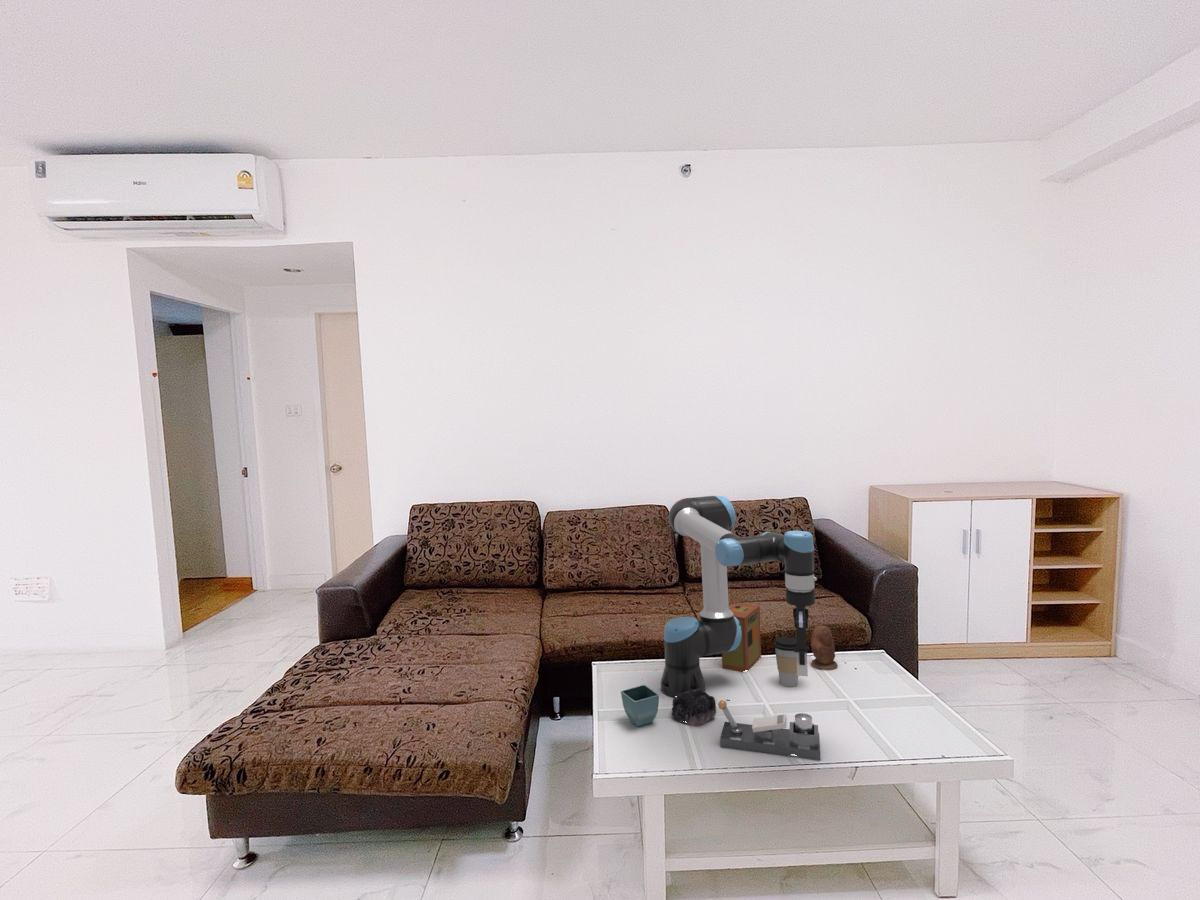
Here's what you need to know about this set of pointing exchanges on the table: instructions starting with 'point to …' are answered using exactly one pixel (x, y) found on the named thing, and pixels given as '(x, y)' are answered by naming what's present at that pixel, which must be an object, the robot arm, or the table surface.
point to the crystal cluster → (694, 707)
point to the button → (803, 723)
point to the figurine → (823, 648)
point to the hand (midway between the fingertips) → (802, 674)
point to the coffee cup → (786, 660)
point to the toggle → (727, 713)
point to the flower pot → (640, 704)
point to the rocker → (769, 723)
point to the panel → (772, 740)
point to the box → (745, 639)
